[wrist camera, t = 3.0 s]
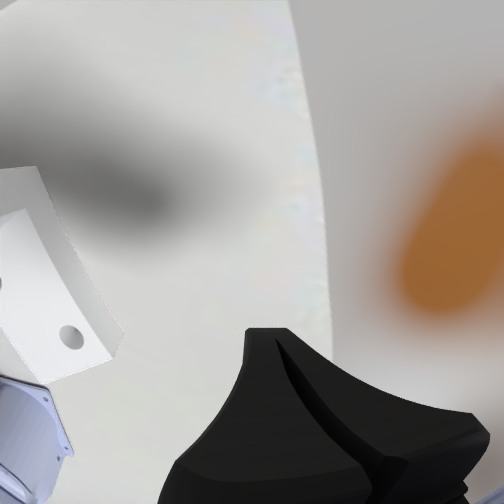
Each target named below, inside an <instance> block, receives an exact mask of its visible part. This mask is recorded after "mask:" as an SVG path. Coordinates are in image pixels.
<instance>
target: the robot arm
mask: <svg viewBox="0 0 504 504" xmlns="http://www.w3.org/2000/svg"><path fill="white" fill-rule="evenodd" d="M489 442H490V433H489V432H488V431H487V430H486V429H485V428H484V426H483V425H482V424H481V423H480V422H479V421H478V420H477V418H476V417H475V416H474V415H473V414H472V413H465V412H458V411H451V410H444V409H439V408H434V407H430V406H426V405H422V404H418V403H415V402H412V401H408V400H405V399H402V398H400V397H397V396H394V395H392V394H389V393H387V392H384V391H381V390H379V389H377V388H375V387H373V386H371V385H369V384H367V383H365V382H363V381H361V380H359V379H357V378H355V377H353V376H352V375H350V374H348V373H347V372H345V371H343V370H342V369H340V368H339V367H337V366H336V365H334V364H333V363H331V362H330V361H329V360H327V359H326V358H324V357H323V356H322V355H320V354H319V353H318V352H316V351H315V350H314V349H312V348H311V347H310V346H309V345H307V344H306V343H305V342H304V341H302V340H301V339H300V338H299V337H297V336H296V335H295V334H294V333H292V332H291V331H290V330H289V329H287V328H248V329H247V330H246V331H245V340H244V352H243V364H242V367H241V370H240V372H239V375H238V378H237V380H236V382H235V385H234V387H233V389H232V391H231V393H230V395H229V396H228V398H227V400H226V402H225V403H224V405H223V406H222V408H221V410H220V411H219V413H218V414H217V416H216V417H215V418H214V420H213V421H212V422H211V424H210V425H209V426H208V427H207V428H206V430H205V431H204V432H203V433H202V435H201V436H200V437H199V438H198V439H197V440H196V441H195V442H194V443H193V444H192V445H191V446H190V447H189V448H188V449H187V450H186V451H185V452H184V453H183V454H182V455H181V456H180V457H179V458H178V459H177V460H175V462H174V464H173V466H172V468H171V470H170V472H169V474H168V476H167V479H166V481H165V483H164V485H163V488H162V490H161V493H160V496H159V499H158V503H157V504H469V503H468V501H467V499H466V498H465V496H464V494H465V493H466V492H467V491H468V487H467V486H466V484H465V483H464V481H463V480H464V479H465V477H467V475H468V474H469V473H470V472H471V470H472V469H473V468H474V467H475V465H476V464H477V463H478V461H479V460H480V459H481V457H482V456H483V454H484V453H485V451H486V449H487V447H488V445H489ZM65 455H67V456H73V455H74V452H73V450H72V447H71V445H70V443H69V441H68V438H67V436H66V434H65V431H64V429H63V427H62V424H61V422H60V419H59V417H58V414H57V412H56V409H55V406H54V403H53V401H52V398H51V395H50V393H49V391H48V390H46V389H44V388H39V387H35V386H31V385H27V384H23V383H20V382H16V381H12V380H9V379H5V378H2V377H0V504H43V503H45V502H46V501H47V500H48V499H49V498H50V497H51V495H52V493H53V489H54V486H55V483H56V480H57V477H58V474H59V471H60V468H61V466H62V463H63V460H64V457H65ZM474 504H504V485H502V486H501V487H499V488H498V489H496V490H495V491H493V492H492V493H490V494H489V495H487V496H486V497H484V498H483V499H481V500H479V501H478V502H476V503H474Z"/></svg>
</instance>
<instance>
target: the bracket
mask: <svg viewBox="0 0 504 504" xmlns="http://www.w3.org/2000/svg"><path fill="white" fill-rule="evenodd" d="M0 326H1V328H2V330H3V331H4V333H5V334H6V336H7V337H8V339H9V340H10V342H11V343H12V345H13V346H14V348H15V349H16V351H17V352H18V354H19V355H20V356H21V358H22V359H23V361H24V362H25V363H26V365H27V366H28V367H29V369H30V370H31V371H32V373H33V374H34V375H35V377H36V378H37V379H38V380H39V382H40V383H41V384H42V385H44V384H47V383H50V382H53V381H55V380H58V379H61V378H64V377H67V376H69V375H72V374H75V373H78V372H80V371H83V370H86V369H88V368H91V367H94V366H96V365H99V364H102V363H104V362H107V361H110V360H112V359H113V358H114V356H115V354H116V351H117V349H118V346H119V344H120V342H121V339H122V337H123V335H124V332H123V330H122V329H121V327H120V326H119V324H118V323H117V321H116V320H115V318H114V317H113V315H112V313H111V312H110V310H109V309H108V307H107V305H106V304H105V302H104V300H103V299H102V297H101V295H100V294H99V292H98V290H97V289H96V287H95V285H94V284H93V282H92V280H91V278H90V277H89V275H88V273H87V271H86V270H85V268H84V266H83V264H82V262H81V260H80V259H79V257H78V255H77V253H76V251H75V249H74V247H73V245H72V243H71V241H70V239H69V237H68V235H67V233H66V231H65V229H64V227H63V225H62V223H61V221H60V219H59V217H58V215H57V213H56V211H55V208H54V206H53V204H52V202H51V200H50V197H49V195H48V193H47V190H46V188H45V186H44V183H43V181H42V179H41V176H40V174H39V171H38V169H37V166H26V167H16V168H7V169H0Z"/></svg>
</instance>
